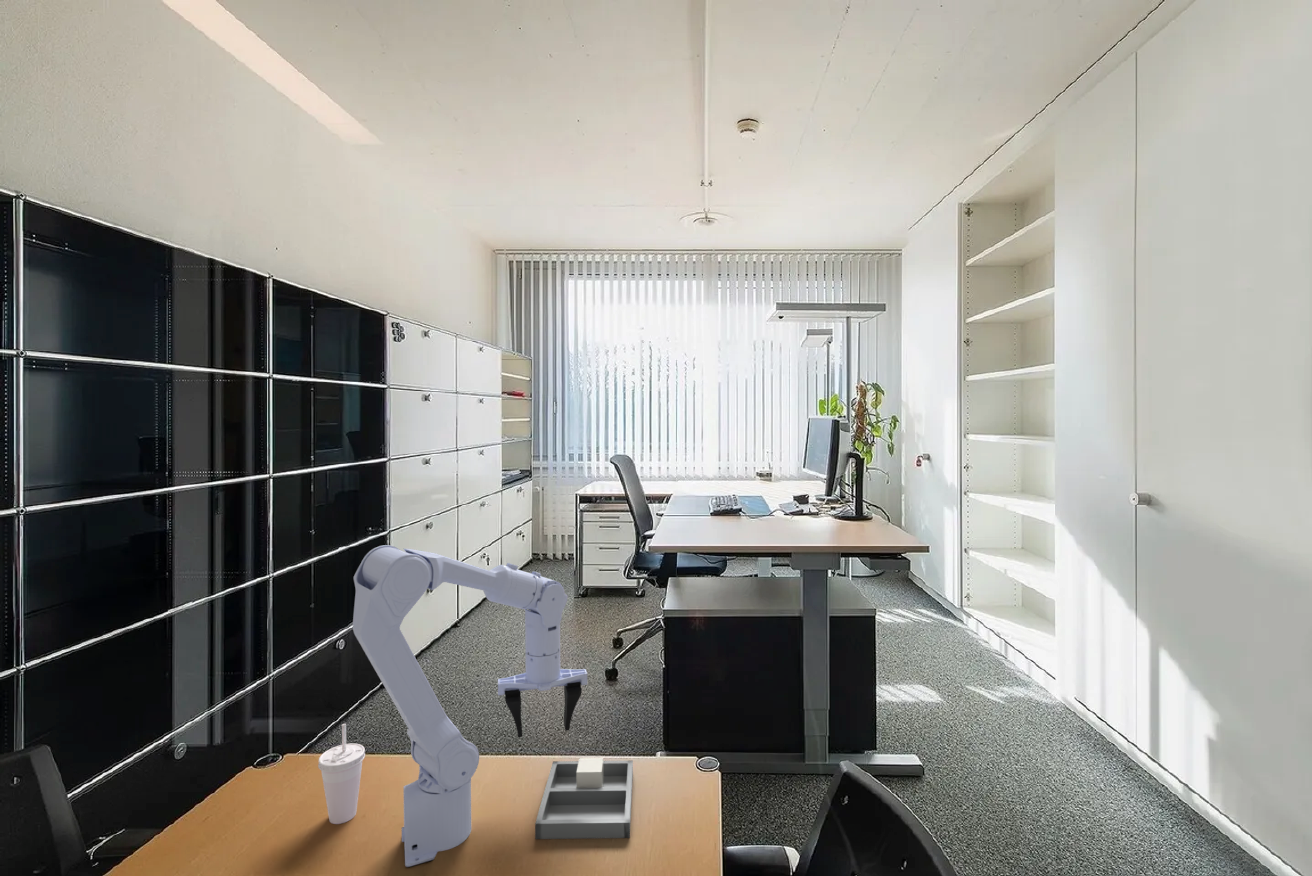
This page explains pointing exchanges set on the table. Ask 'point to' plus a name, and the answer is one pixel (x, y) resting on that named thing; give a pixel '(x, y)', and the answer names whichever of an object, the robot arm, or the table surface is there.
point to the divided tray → (586, 803)
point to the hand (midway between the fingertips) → (543, 731)
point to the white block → (590, 773)
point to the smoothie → (342, 779)
